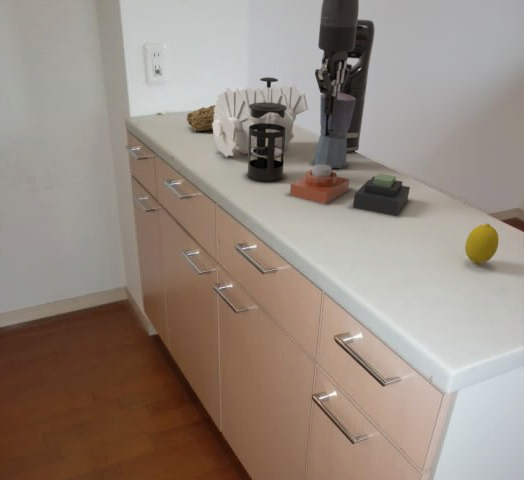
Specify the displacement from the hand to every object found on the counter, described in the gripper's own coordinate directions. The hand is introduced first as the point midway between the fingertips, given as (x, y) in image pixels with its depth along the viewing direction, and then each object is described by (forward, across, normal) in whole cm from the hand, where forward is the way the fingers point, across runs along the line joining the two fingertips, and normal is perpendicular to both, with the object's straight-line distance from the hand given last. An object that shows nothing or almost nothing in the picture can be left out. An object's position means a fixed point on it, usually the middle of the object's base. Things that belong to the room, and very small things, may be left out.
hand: (329, 113), depth 122 cm
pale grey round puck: (+14, 0, +1) cm, 14 cm away
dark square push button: (+18, +2, -14) cm, 23 cm away
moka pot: (+18, +21, +9) cm, 29 cm away
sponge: (+18, +34, +57) cm, 69 cm away
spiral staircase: (+18, +18, +32) cm, 41 cm away
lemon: (+18, -16, -42) cm, 48 cm away
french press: (+18, +2, +18) cm, 25 cm away
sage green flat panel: (+13, +2, -14) cm, 20 cm away
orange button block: (+18, 0, 0) cm, 18 cm away
